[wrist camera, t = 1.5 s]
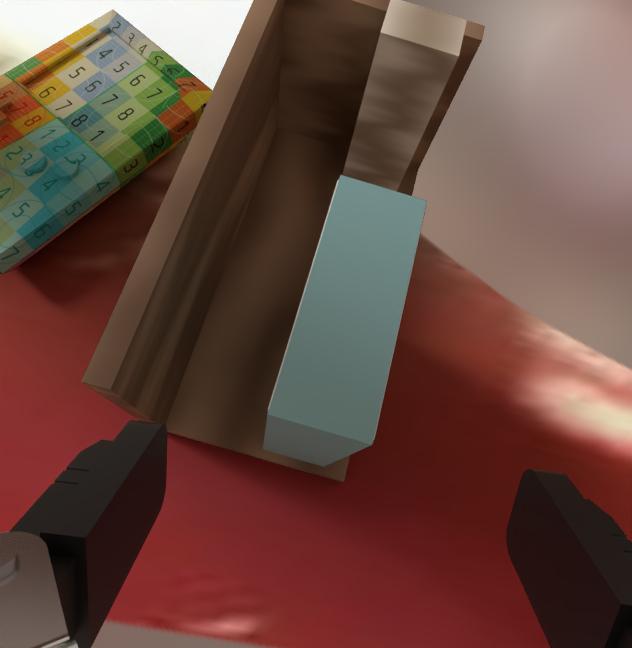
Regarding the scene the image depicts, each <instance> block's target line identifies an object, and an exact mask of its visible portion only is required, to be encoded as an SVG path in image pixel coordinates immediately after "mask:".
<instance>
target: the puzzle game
mask: <svg viewBox="0 0 632 648" xmlns="http://www.w3.org/2000/svg"><path fill="white" fill-rule="evenodd" d="M211 94H212V90H211V89H210V88H209V87H208V86H206V85H205V84H204V83H203V82H201V81H200V80H199V79H198V78H196V77H195V76H194V75H193V74H192V73H190V72H189V71H188V70H187V69H185V68H184V67H183V66H182V65H180V64H179V63H178V62H177V61H176V60H174V59H173V58H172V57H171V56H169V55H168V54H167V53H166V52H165V51H163V50H162V49H161V48H160V47H158V46H157V45H156V44H155V43H153V42H152V41H151V40H150V39H149V38H147V37H146V36H145V35H144V34H142V33H141V32H140V31H139V30H138V29H136V28H135V27H134V26H133V25H131V24H130V23H129V22H128V21H126V20H125V19H124V18H123V17H122V16H120V15H119V14H118V13H117V12H115V11H114V10H111V11H110V12H108V13H106V14H104V15H103V16H101V17H99V18H98V19H96V20H94V21H93V22H91V23H89V24H88V25H86V26H84V27H83V28H81V29H79V30H77V31H76V32H74V33H72V34H71V35H69V36H67V37H66V38H64V39H62V40H61V41H59V42H57V43H56V44H54V45H52V46H50V47H49V48H47V49H45V50H44V51H42V52H40V53H39V54H37V55H35V56H34V57H32V58H30V59H28V60H27V61H25V62H23V63H22V64H20V65H18V66H17V67H15V68H13V69H12V70H10V71H8V72H7V73H5V74H3V75H1V76H0V273H1V274H4V273H7V272H10V271H13V270H14V269H16V268H17V267H18V266H20V265H21V264H22V263H24V262H25V261H26V260H27V259H29V258H30V257H31V256H33V255H34V254H35V253H37V252H38V251H39V250H41V249H42V248H43V247H44V246H46V245H47V244H48V243H50V242H51V241H52V240H54V239H55V238H56V237H58V236H59V235H60V234H61V233H63V232H64V231H65V230H67V229H68V228H69V227H71V226H72V225H73V224H75V223H76V222H77V221H79V220H80V219H81V218H82V217H84V216H85V215H86V214H88V213H89V212H90V211H92V210H93V209H94V208H96V207H97V206H98V205H99V204H101V203H102V202H103V201H105V200H106V199H107V198H109V197H110V196H111V195H113V194H114V193H115V192H117V191H118V190H119V189H120V188H122V187H123V186H124V185H126V184H127V183H128V182H130V181H131V180H132V179H134V178H135V177H136V176H137V175H139V174H140V173H141V172H143V171H144V170H145V169H147V168H148V167H149V166H151V165H152V164H153V163H155V162H156V161H157V160H158V159H160V158H161V157H162V156H164V155H165V154H166V153H168V152H169V151H170V150H172V149H173V148H174V147H175V146H177V145H178V144H179V143H181V142H182V141H183V140H184V138H185V136H186V134H187V133H189V132H190V131H191V130H193V129H194V128H195V127H196V126H197V125H198V122H199V120H200V118H201V116H202V113H203V111H204V109H205V107H206V105H207V102H208V100H209V98H210V96H211Z"/></svg>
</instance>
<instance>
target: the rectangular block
mask: <svg viewBox="0 0 632 648" xmlns="http://www.w3.org/2000/svg"><path fill="white" fill-rule="evenodd" d="M425 209H426V200H422V199H419V198H416V197H413V196H409V195H406V194H403V193H399V192H396V191H393V190H389V189H386V188H383V187H379V186H376V185H373V184H369V183H366V182H363V181H359V180H356V179H353V178H350V177H346V176H343V175H340V178H339V180H338V181H337V184H336V187H335V191H334V194H333V197H332V200H331V204H330V207H329V210H328V214H327V217H326V220H325V223H324V227H323V230H322V233H321V236H320V240H319V243H318V246H317V250H316V253H315V256H314V259H313V263H312V266H311V269H310V272H309V276H308V279H307V282H306V286H305V289H304V292H303V295H302V299H301V302H300V305H299V308H298V312H297V315H296V318H295V322H294V325H293V328H292V331H291V335H290V338H289V341H288V344H287V348H286V351H285V354H284V358H283V361H282V364H281V367H280V371H279V374H278V377H277V380H276V384H275V387H274V390H273V394H272V397H271V400H270V403H269V407H268V411H267V412H268V414H267V422H266V429H265V436H264V443H263V449H264V450H267V451H270V452H274V453H277V454H281V455H284V456H288V457H291V458H295V459H298V460H301V461H305V462H308V463H312V464H315V465H319V466H322V467H324V466H326V465H329V464H331V463H333V462H335V461H337V460H340V459H342V458H344V457H346V456H349V455H351V454H353V453H355V452H357V451H360V450H362V449H364V448H366V447H369V446H371V445H372V444H373V440H374V439H375V435H376V430H377V426H378V421H379V416H380V412H381V407H382V403H383V398H384V394H385V389H386V385H387V380H388V376H389V371H390V367H391V362H392V358H393V353H394V349H395V344H396V340H397V335H398V331H399V326H400V322H401V317H402V313H403V308H404V304H405V299H406V295H407V290H408V286H409V281H410V277H411V272H412V268H413V263H414V259H415V254H416V250H417V245H418V241H419V236H420V232H421V227H422V223H423V218H424V214H425Z"/></svg>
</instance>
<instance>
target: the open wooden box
mask: <svg viewBox="0 0 632 648" xmlns="http://www.w3.org/2000/svg"><path fill="white" fill-rule="evenodd" d="M484 28H485V26H483V25H480V24H476V23H473V22H470V21H467V20H463V19H460V18H457V17H454V16H451V15H447V14H444V13H440V12H438V11H434V10H431V9H428V8H425V7H421V6H418V5H415V4H412V3H408V2H405V1H402V0H254V1H253V3H252V5H251V7H250V10H249V12H248V14H247V16H246V18H245V21H244V23H243V25H242V27H241V29H240V32H239V34H238V36H237V38H236V41H235V43H234V45H233V47H232V49H231V52H230V54H229V56H228V58H227V60H226V63H225V65H224V67H223V69H222V71H221V74H220V76H219V78H218V80H217V83H216V85H215V87H214V89H213V91H212V94H211V96H210V98H209V100H208V102H207V105H206V107H205V109H204V111H203V113H202V116H201V118H200V120H199V122H198V125H197V127H196V129H195V131H194V133H193V136H192V138H191V140H190V142H189V144H188V147H187V149H186V151H185V153H184V155H183V158H182V160H181V162H180V164H179V167H178V169H177V171H176V173H175V175H174V178H173V180H172V182H171V184H170V186H169V189H168V191H167V193H166V195H165V197H164V200H163V202H162V204H161V206H160V209H159V211H158V213H157V215H156V217H155V220H154V222H153V224H152V226H151V228H150V231H149V233H148V235H147V237H146V239H145V242H144V244H143V246H142V248H141V251H140V253H139V255H138V257H137V259H136V262H135V264H134V266H133V268H132V270H131V273H130V275H129V277H128V279H127V281H126V284H125V286H124V288H123V290H122V293H121V295H120V297H119V299H118V301H117V304H116V306H115V308H114V310H113V312H112V315H111V317H110V319H109V321H108V323H107V326H106V328H105V330H104V332H103V335H102V337H101V339H100V341H99V343H98V346H97V348H96V350H95V352H94V354H93V357H92V359H91V361H90V363H89V365H88V368H87V370H86V372H85V374H84V377H83V379H82V381H81V382H83V383H84V384H86V385H87V386H89V387H90V388H92V389H93V390H95V391H96V392H98V393H99V394H101V395H102V396H104V397H105V398H107V399H108V400H110V401H111V402H113V403H114V404H116V405H118V406H119V407H121V408H122V409H124V410H125V411H127V412H128V413H130V414H131V415H133V416H134V417H136V418H137V419H139V420H140V421H142V422H150V423H159V424H165V425H166V427H167V432H169V433H172V434H176V435H179V436H183V437H186V438H190V439H193V440H197V441H200V442H204V443H207V444H210V445H214V446H217V447H221V448H224V449H228V450H231V451H235V452H238V453H242V454H245V455H248V456H252V457H255V458H259V459H262V460H266V461H269V462H273V463H276V464H280V465H283V466H286V467H290V468H293V469H297V470H300V471H304V472H307V473H311V474H314V475H318V476H321V477H324V478H328V479H331V480H335V481H338V482H344V480H345V476H346V472H347V467H348V463H349V459H350V455H349V456H346V457H344V458H342V459H340V460H337V461H335V462H333V463H331V464H329V465H326V466H324V467H322V466H319V465H315V464H312V463H308V462H305V461H301V460H298V459H295V458H291V457H288V456H284V455H281V454H277V453H274V452H270V451H267V450H264V449H263V443H264V436H265V429H266V422H267V414H268V412H267V411H268V407H269V403H270V400H271V397H272V394H273V390H274V387H275V384H276V380H277V377H278V374H279V371H280V367H281V364H282V361H283V358H284V354H285V351H286V348H287V344H288V341H289V338H290V335H291V331H292V328H293V325H294V322H295V318H296V315H297V312H298V308H299V305H300V302H301V299H302V295H303V292H304V289H305V286H306V282H307V279H308V276H309V272H310V269H311V266H312V263H313V259H314V256H315V253H316V250H317V246H318V243H319V240H320V236H321V233H322V230H323V227H324V223H325V220H326V217H327V214H328V210H329V207H330V204H331V200H332V197H333V194H334V191H335V187H336V184H337V181H338V180H339V178H340V175H343V176H346V177H350V178H353V179H356V180H359V181H363V182H366V183H369V184H373V185H376V186H379V187H383V188H386V189H389V190H393V191H396V192H399V193H403V194H406V195H409V196H412V192H413V188H414V184H415V180H416V175H417V171H418V169H419V166H420V165H421V162H422V160H423V159H424V157H425V154H426V153H427V150H428V148H429V146H430V144H431V142H432V140H433V138H434V136H435V134H436V132H437V130H438V128H439V126H440V124H441V122H442V120H443V118H444V116H445V114H446V112H447V110H448V108H449V106H450V104H451V102H452V100H453V98H454V96H455V94H456V92H457V90H458V88H459V86H460V84H461V82H462V80H463V78H464V75H465V74H466V71H467V70H468V68H469V66H470V63H471V61H472V59H473V57H474V55H475V53H476V51H477V49H478V47H479V45H480V43H481V41H482V38H483V32H484Z"/></svg>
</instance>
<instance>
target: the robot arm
mask: <svg viewBox="0 0 632 648" xmlns="http://www.w3.org/2000/svg"><path fill="white" fill-rule="evenodd" d="M166 467H167V427H166V425H165V424H159V423H150V422H142V421H134V420H131V421H129V422H128V423H127V425H126V426H125V427H124V428H123V430H122V431H121V432H120V433H119V435H118V436H117V437H116V438H115V439H114V441H108V440H101V441H99V442H97V443H95V444H94V445H92V446H90V447H88V448H86V449H85V450H83V451H81V452H80V453H79V454H78V455H77V456H76V457H75V459H74V460H73V461H72V462H71V463H70V464H69V465H68V466H67V469H66V471H63V472H62V473H61V474H60V475H59V477H58V478H57V479H56V480H55V483H54V484H51V485H50V487H49V488H48V489H47V490H46V491H45V492H44V493H43V494H42V496H41V497H40V498H39V499H38V500H37V501H36V502H35V503H34V505H33V506H32V507H31V508H30V509H29V510H28V511H27V512H26V513H25V515H24V516H23V517H22V518H21V519H20V520H19V521H18V522H17V524H16V525H15V526H14V527H13V528H12V529H11V530H10V531H9V532H4V533H0V648H91V646H92V644H93V643H94V640H95V639H96V636H97V635H98V633H99V630H100V629H101V627H102V625H103V623H104V621H105V619H106V617H107V615H108V613H109V611H110V609H111V607H112V605H113V603H114V601H115V599H116V597H117V595H118V593H119V591H120V589H121V587H122V585H123V583H124V581H125V579H126V577H127V575H128V574H129V572H130V570H131V568H132V566H133V564H134V562H135V560H136V558H137V556H138V554H139V552H140V550H141V548H142V546H143V544H144V542H145V540H146V538H147V536H148V534H149V532H150V530H151V528H152V526H153V524H154V522H155V520H156V518H157V516H158V514H159V512H160V510H161V507H162V504H163V500H164V495H165V489H166ZM507 548H508V552H509V556H510V558H511V561H512V563H513V565H514V567H515V569H516V572H517V574H518V576H519V578H520V580H521V583H522V585H523V587H524V589H525V592H526V594H527V596H528V598H529V600H530V603H531V605H532V607H533V609H534V612H535V614H536V616H537V618H538V620H539V623H540V625H541V627H542V629H543V632H544V634H545V636H546V638H547V640H548V643H549V645H550V647H551V648H632V542H631V541H630V540H627V539H626V535H625V534H624V532H623V531H622V530H621V529H620V527H619V526H618V525H617V523H616V522H615V521H614V520H613V518H612V517H611V516H609V515H608V514H607V513H606V512H604V511H603V510H602V509H600V508H599V507H598V506H597V505H595V504H594V503H593V502H591V501H590V500H588V499H584V498H583V497H582V495H581V494H580V493H579V491H578V490H577V489H576V487H575V486H574V485H573V483H572V482H571V481H570V479H569V478H568V477H567V476H566V475H565V474H563V473H557V472H549V471H541V470H532V469H528V470H526V471H525V472H524V473H523V475H522V478H521V481H520V485H519V488H518V492H517V495H516V499H515V502H514V506H513V509H512V513H511V516H510V520H509V523H508V527H507Z"/></svg>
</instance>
